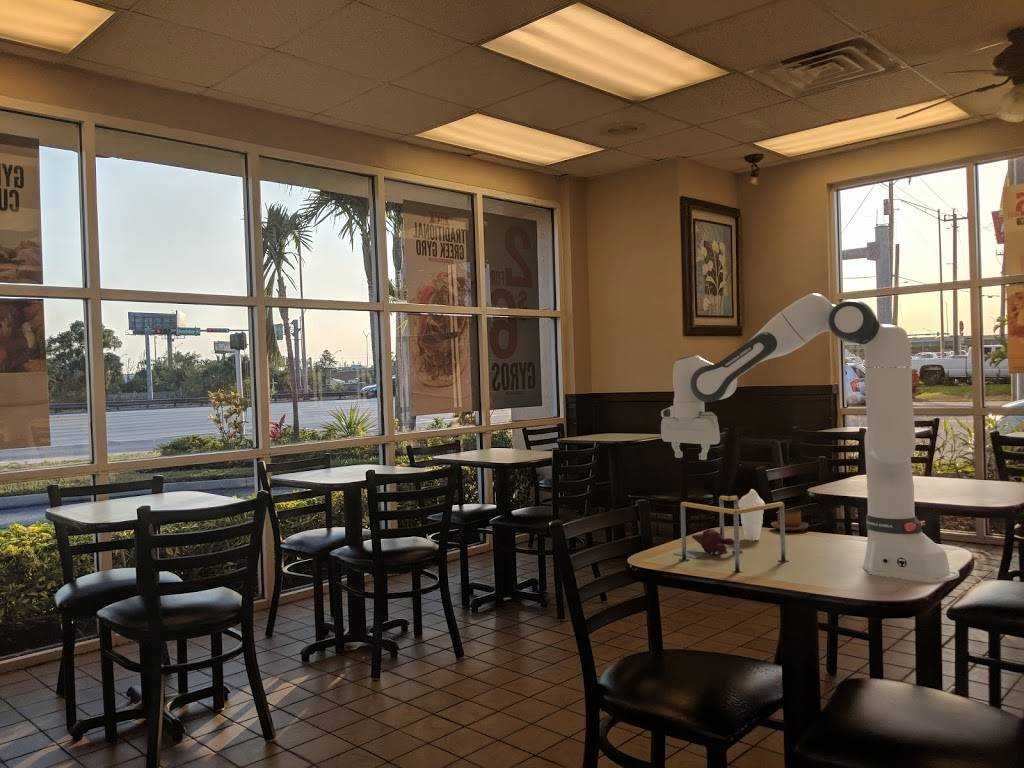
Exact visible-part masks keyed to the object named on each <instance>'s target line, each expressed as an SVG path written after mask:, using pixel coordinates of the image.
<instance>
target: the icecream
mask: <svg viewBox="0 0 1024 768" xmlns="http://www.w3.org/2000/svg"><path fill="white" fill-rule="evenodd" d="M691 538H692V539H693V540H694V541H695V542H696V543H698V544H700V546H701V548H702V549H703V550H704V551H703V552H706V553H712V554H716V553H718V551H721V552H724V551H727V546H732V545H734V538H724V539H723V536H722V535H721V534H720V532H718V531H716V530H715V529H713V528H712V529H710V528H707V529H706V530H703V532H702V533H699V534H694V535H691ZM724 544H725V545H724ZM726 545H727V546H726Z"/></svg>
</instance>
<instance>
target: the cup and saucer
mask: <svg viewBox="0 0 1024 768" xmlns="http://www.w3.org/2000/svg"><path fill="white" fill-rule="evenodd" d="M784 518H785V532H787V531H789V532H791V531H793V532H796V531H801V530H805V529H807V528H808V527H809V523H808V522H805V521H802V511H801V510H799V509H791V508H788V509H787V508H784ZM770 525H771V527H773V528H774V529H776V530H780V509H778V510H777V520H775V521H772V522H770Z"/></svg>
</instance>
